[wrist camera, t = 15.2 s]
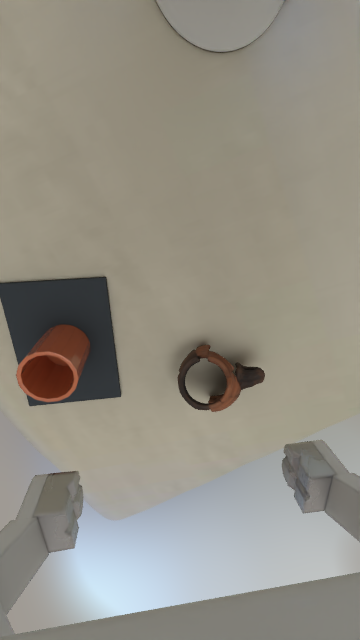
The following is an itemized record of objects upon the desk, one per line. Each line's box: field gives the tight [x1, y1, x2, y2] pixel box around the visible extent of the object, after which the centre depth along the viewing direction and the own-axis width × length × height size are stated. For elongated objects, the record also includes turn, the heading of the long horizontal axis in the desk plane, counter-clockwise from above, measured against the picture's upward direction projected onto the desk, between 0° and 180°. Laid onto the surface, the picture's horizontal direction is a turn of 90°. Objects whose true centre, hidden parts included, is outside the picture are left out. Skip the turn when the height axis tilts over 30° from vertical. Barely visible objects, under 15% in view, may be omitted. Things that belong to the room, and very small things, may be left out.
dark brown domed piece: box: [178, 345, 265, 412], centre depth 41 cm, size 12×10×8 cm
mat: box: [0, 277, 121, 406], centre depth 38 cm, size 18×13×1 cm
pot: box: [16, 325, 90, 402], centre depth 34 cm, size 6×6×8 cm
